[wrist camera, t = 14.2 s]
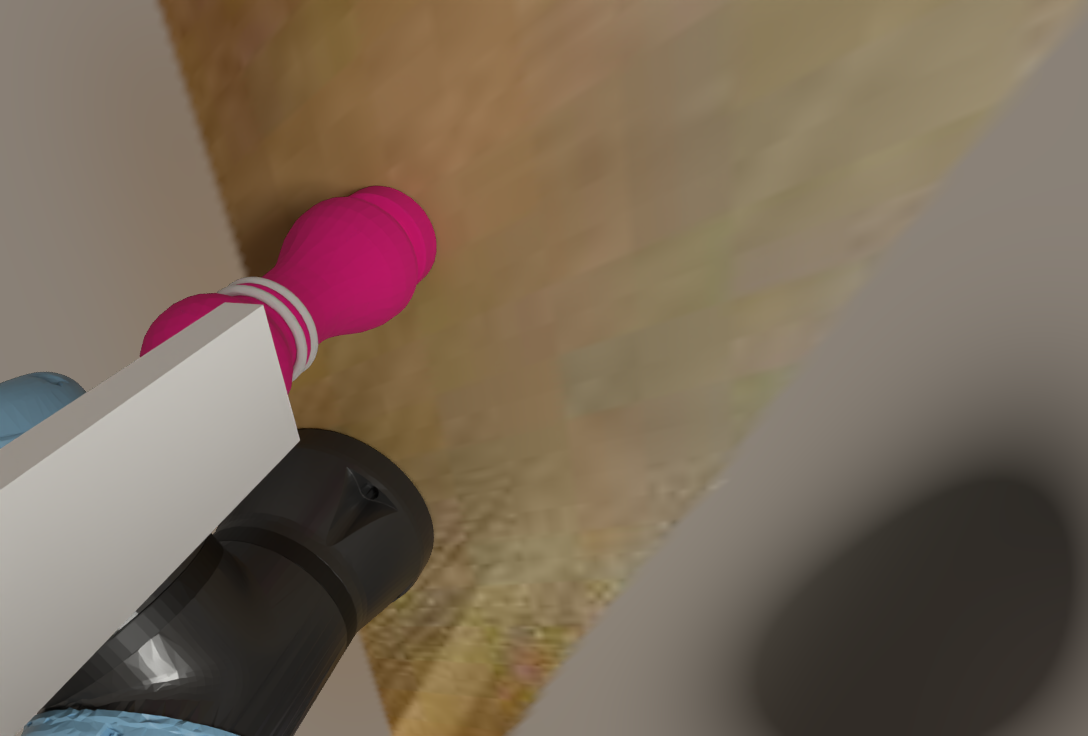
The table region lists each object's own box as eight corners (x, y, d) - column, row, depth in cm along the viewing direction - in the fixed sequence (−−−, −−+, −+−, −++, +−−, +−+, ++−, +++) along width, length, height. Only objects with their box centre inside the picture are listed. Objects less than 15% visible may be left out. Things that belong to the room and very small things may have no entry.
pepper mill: (316, 246, 46) (49, 423, 30) (361, 150, 42) (82, 292, 26) (413, 315, 47) (204, 526, 30) (466, 226, 43) (259, 413, 26)
